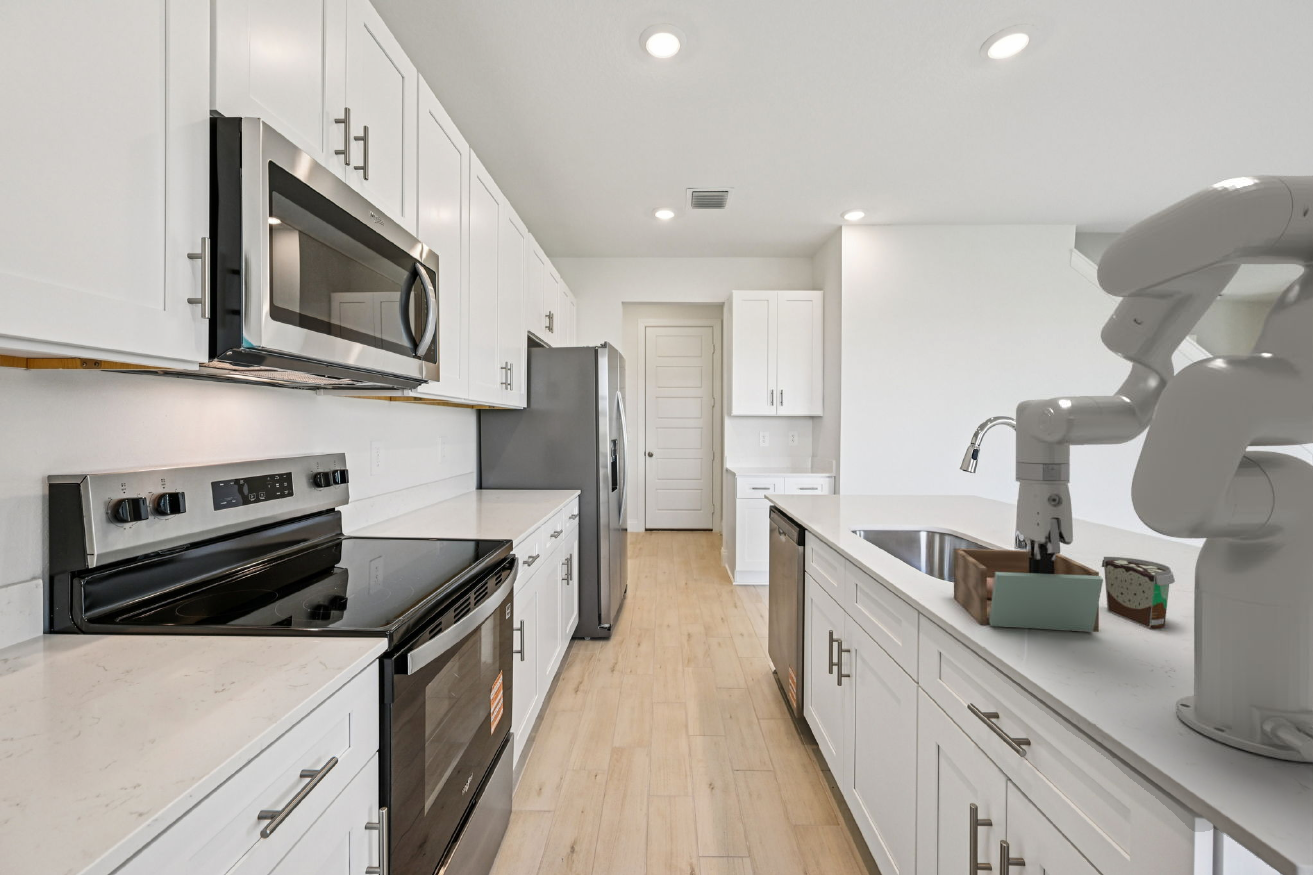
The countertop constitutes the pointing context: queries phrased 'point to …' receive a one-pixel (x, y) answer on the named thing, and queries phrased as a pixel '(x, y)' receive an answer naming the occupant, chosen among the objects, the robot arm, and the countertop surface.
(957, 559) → the crate
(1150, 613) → the food container
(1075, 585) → the flat green panel
